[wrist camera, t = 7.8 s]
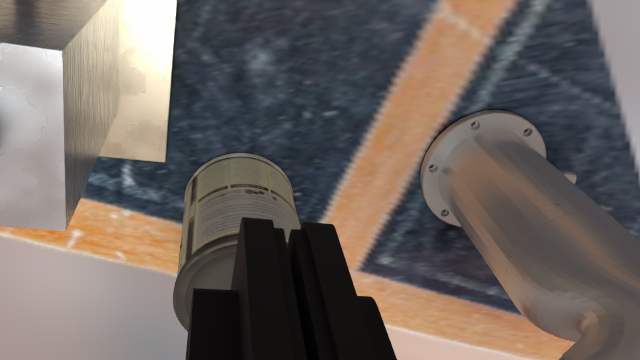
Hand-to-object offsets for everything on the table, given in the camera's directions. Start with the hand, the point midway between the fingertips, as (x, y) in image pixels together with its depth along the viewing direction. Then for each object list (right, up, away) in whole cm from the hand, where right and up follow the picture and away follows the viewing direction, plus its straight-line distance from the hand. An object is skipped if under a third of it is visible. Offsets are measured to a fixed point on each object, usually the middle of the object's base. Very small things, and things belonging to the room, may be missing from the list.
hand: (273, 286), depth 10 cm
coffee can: (-7, 0, +42) cm, 42 cm away
